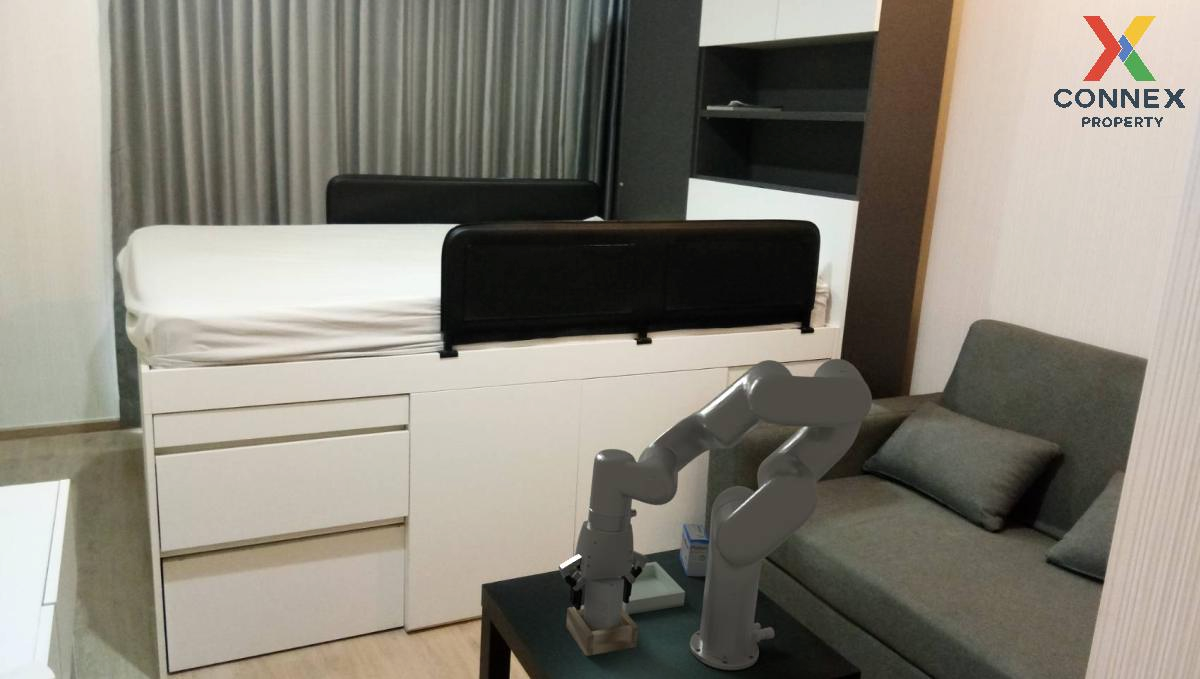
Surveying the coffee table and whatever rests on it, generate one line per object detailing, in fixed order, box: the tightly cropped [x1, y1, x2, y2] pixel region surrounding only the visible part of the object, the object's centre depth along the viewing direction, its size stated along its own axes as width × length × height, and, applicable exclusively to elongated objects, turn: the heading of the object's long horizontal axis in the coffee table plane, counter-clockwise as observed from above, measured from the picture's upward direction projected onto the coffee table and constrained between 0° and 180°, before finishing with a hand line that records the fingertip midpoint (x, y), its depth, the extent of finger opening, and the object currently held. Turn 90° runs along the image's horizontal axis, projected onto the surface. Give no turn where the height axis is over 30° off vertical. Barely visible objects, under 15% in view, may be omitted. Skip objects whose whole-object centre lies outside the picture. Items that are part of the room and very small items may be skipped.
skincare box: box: [583, 577, 624, 632], centre depth 169 cm, size 6×4×12 cm
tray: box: [618, 561, 686, 616], centre depth 186 cm, size 13×13×3 cm
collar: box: [565, 604, 639, 657], centre depth 170 cm, size 10×10×4 cm
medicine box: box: [679, 523, 710, 577], centre depth 198 cm, size 8×4×9 cm, turn 6°
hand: (599, 602), depth 168 cm, fingers open, 9 cm apart
